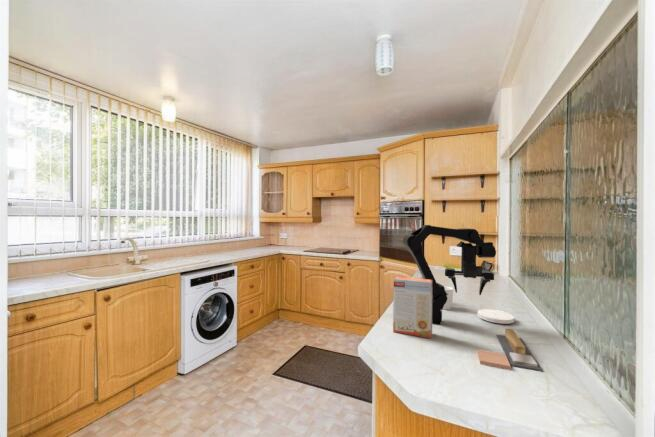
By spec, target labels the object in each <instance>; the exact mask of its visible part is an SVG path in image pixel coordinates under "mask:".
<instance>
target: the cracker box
mask: <svg viewBox="0 0 655 437" xmlns="http://www.w3.org/2000/svg"><path fill="white" fill-rule="evenodd" d="M392 307H393V309H392V313H393V314H392V330H393V331H392V332H394V333H399V334H404V335H410V336H415V337H421V338H426V339H431V338H432V333H433V323H432V280H429V279H419V278H417V277H408V276H407V277H406V276H396V277H394V278H393V303H392Z"/></svg>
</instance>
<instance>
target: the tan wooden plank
mask: <svg viewBox="0 0 655 437" xmlns="http://www.w3.org/2000/svg"><path fill="white" fill-rule="evenodd" d="M504 335H505V337H506V339H507V341H508V343H509V344H510V346H511V348H512V350H513V352H514V353H512V352H510V353H509V355H510V357H511V358H512V360H513V362H514V363H516V364H521V365H527V366H533V367H537V363H536V362H535V360H534V359H533V357H532V356H531V355H525V347H524V345H523V343H522V342H521V340H520V339H519V338H520V336H518V334H517V333H516V332H515V330H514V329H513V328H511V329H510V328H504Z"/></svg>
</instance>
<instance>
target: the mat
mask: <svg viewBox="0 0 655 437" xmlns="http://www.w3.org/2000/svg"><path fill="white" fill-rule="evenodd" d="M495 335H496V338H497V340H498V342H499V345H500V346H501V348H502V350H503V352H504V353H503V354H506V357H507V359H508V361H509V364H510V366H511V367H514V368H520V369H527V370H530V371H531V370H533V371H538V372H543V368H542V367H541V365H540V363H539V362H538V361H537V360H536V358H535V356H534V355H533V353H532V352H531V351H530V349H529V347H528V346H527V344H526V343H525V341H523V339H522V337H519V339H520V340H521V342H522V343H523V345H524V347H525V355H531V356H532V357H533V359H534V360H535V362H536V363H537V367H533V366H527V365H521V364H516V363H514V362H513V360H512V358H511V357H510V355H509V353H510V352H512V353H514V352H513V350H512V348H511V346H510V344H509V343H508V341H507V339H506V337H505V334H504V335H503V334H499V333H498V334H497V333H496V334H495Z"/></svg>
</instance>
